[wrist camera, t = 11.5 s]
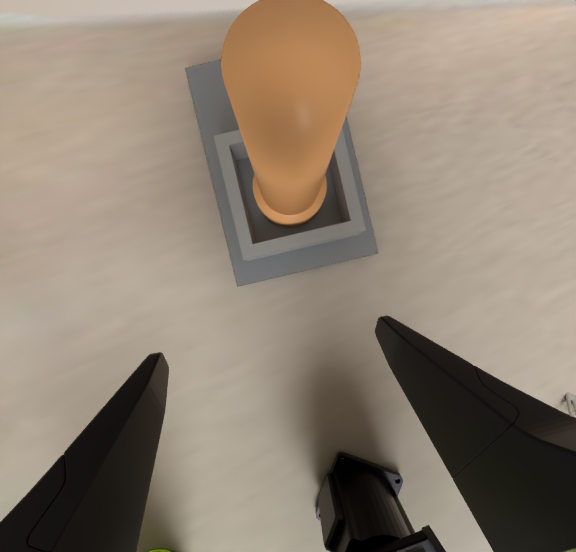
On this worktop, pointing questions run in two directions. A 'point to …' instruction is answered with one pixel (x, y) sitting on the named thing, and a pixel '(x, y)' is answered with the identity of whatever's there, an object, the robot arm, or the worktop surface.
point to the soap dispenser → (159, 550)
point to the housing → (243, 207)
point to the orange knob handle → (290, 99)
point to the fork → (568, 399)
